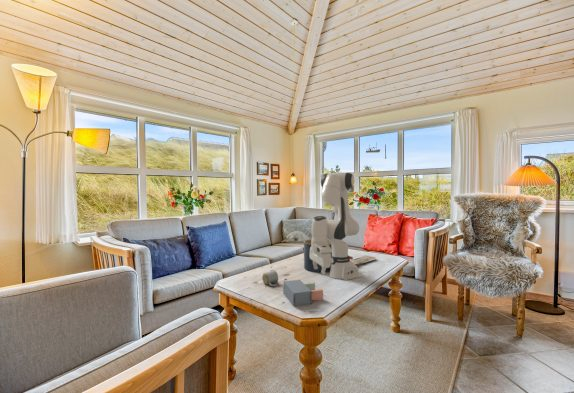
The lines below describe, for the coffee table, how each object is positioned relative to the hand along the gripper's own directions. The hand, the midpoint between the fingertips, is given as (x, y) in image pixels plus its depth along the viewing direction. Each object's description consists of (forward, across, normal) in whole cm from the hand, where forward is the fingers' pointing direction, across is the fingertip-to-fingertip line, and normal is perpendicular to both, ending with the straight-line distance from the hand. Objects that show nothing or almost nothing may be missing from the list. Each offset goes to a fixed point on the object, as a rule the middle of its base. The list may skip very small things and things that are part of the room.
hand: (319, 271), depth 150 cm
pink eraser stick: (+15, 0, -5) cm, 16 cm away
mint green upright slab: (+15, -11, -5) cm, 20 cm away
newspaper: (+16, -56, +62) cm, 85 cm away
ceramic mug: (+16, -32, -19) cm, 40 cm away
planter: (+16, -52, +23) cm, 59 cm away
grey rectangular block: (+16, -6, -11) cm, 20 cm away
